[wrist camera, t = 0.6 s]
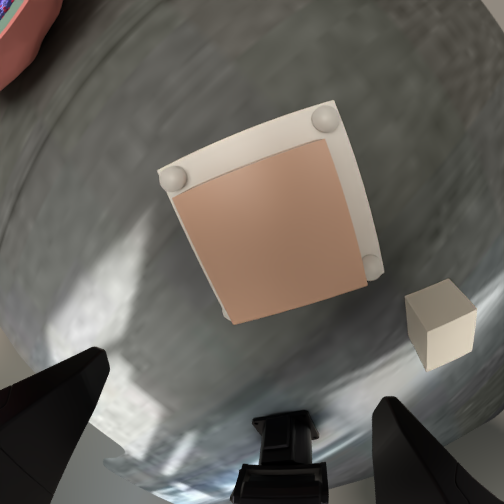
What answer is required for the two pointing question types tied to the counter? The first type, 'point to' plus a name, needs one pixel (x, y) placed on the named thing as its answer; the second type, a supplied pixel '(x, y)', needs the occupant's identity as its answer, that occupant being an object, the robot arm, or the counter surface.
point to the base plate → (277, 214)
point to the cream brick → (440, 323)
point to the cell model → (23, 33)
